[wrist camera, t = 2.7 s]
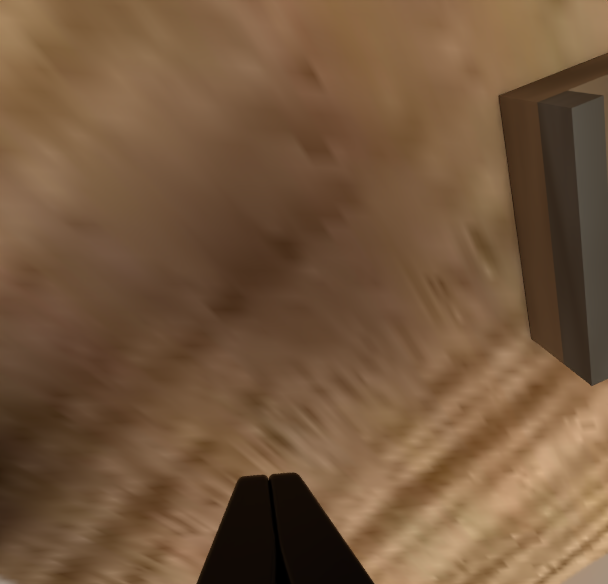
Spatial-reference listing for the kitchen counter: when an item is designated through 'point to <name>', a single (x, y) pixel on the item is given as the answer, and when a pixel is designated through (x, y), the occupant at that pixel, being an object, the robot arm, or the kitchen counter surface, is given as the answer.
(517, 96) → the panel
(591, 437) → the kitchen counter surface
